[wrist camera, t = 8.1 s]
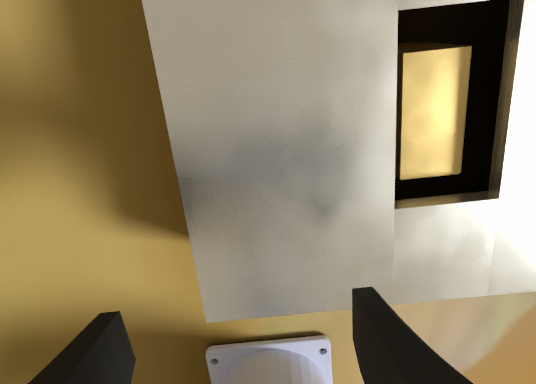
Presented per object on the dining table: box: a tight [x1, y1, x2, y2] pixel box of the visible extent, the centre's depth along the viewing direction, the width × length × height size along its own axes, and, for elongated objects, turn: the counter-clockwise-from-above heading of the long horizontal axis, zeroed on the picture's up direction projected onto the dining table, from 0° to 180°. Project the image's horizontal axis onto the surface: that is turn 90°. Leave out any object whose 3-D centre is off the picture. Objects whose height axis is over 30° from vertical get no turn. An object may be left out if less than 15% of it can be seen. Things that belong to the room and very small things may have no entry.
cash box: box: [142, 0, 536, 323], centre depth 17 cm, size 16×20×6 cm
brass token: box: [395, 42, 472, 180], centre depth 18 cm, size 5×2×5 cm, turn 6°
